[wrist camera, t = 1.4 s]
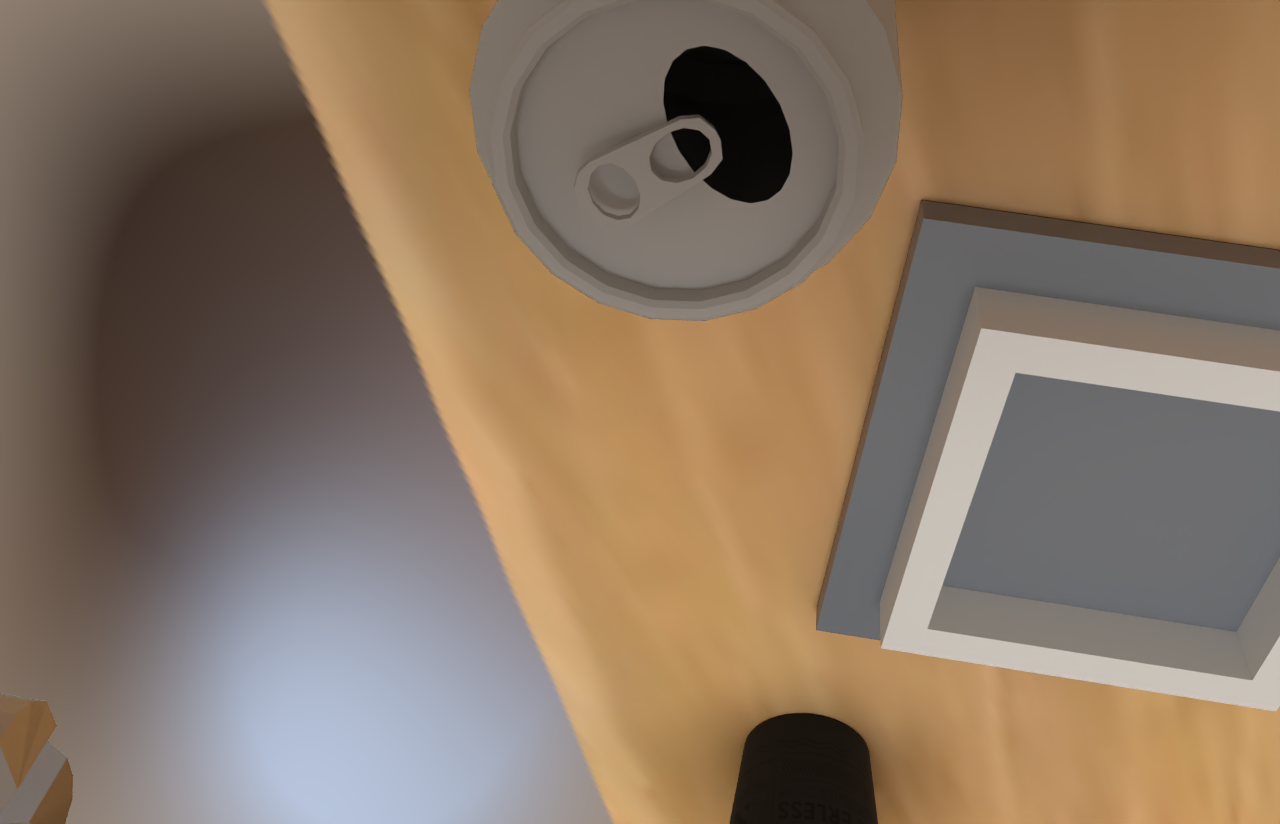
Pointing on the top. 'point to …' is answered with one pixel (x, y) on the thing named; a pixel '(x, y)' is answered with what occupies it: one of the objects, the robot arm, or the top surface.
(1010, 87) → the top surface
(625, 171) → the can
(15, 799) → the robot arm
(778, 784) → the drinking cup
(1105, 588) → the grey flat square tray
